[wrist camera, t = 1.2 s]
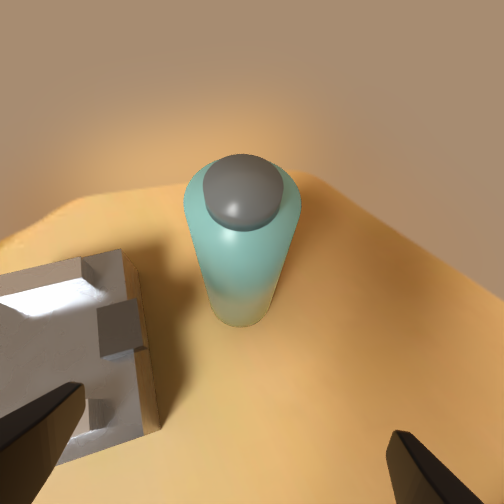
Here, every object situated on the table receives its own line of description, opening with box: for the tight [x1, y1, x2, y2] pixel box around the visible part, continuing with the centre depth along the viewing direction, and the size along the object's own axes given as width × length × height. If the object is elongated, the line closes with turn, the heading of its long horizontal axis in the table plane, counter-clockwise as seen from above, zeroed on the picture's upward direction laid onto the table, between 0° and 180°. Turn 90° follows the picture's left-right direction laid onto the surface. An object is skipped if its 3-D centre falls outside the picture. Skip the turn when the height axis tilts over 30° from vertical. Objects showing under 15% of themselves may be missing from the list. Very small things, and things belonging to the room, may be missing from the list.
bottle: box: [184, 154, 301, 327], centre depth 18 cm, size 5×5×14 cm
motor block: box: [0, 249, 161, 466], centre depth 19 cm, size 12×10×6 cm
